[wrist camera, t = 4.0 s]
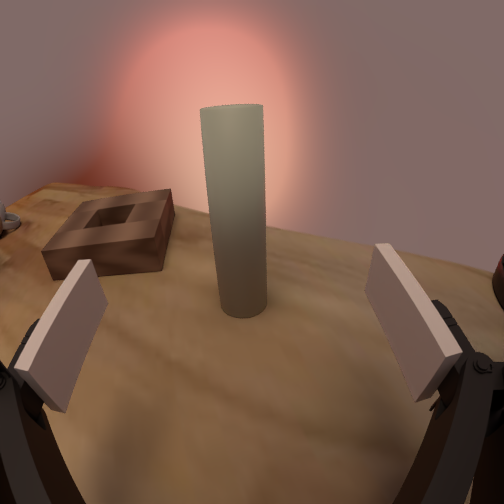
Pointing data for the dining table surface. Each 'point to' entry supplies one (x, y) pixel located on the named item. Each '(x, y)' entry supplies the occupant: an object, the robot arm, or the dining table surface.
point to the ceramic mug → (2, 215)
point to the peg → (237, 204)
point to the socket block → (114, 235)
